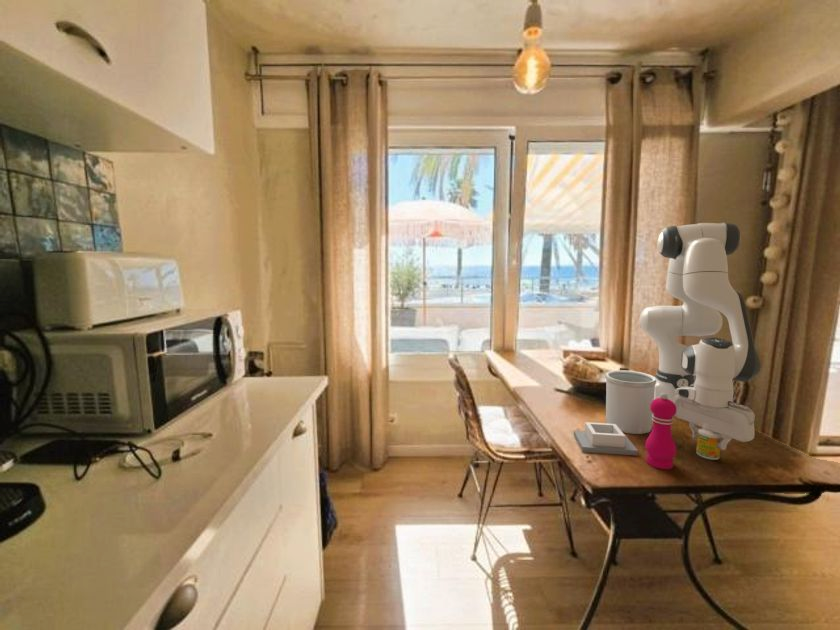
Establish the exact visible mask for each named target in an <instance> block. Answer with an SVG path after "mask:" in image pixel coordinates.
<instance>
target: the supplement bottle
mask: <svg viewBox="0 0 840 630" xmlns="http://www.w3.org/2000/svg"><path fill="white" fill-rule="evenodd" d="M720 441H722V434H720V433H717V432H714V431H712V430H710V429H709V425H707V424H705V423H703V427H700V428H698V437H697V439H696V450H695V451H696V452H695V453H696V455H698V456H699V457H701V458H704V459H707V460H712V461H713V460H715V461H716V460H719V459H720V458H721V457H720V456H721V449H719V448H717V442H720Z"/></svg>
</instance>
